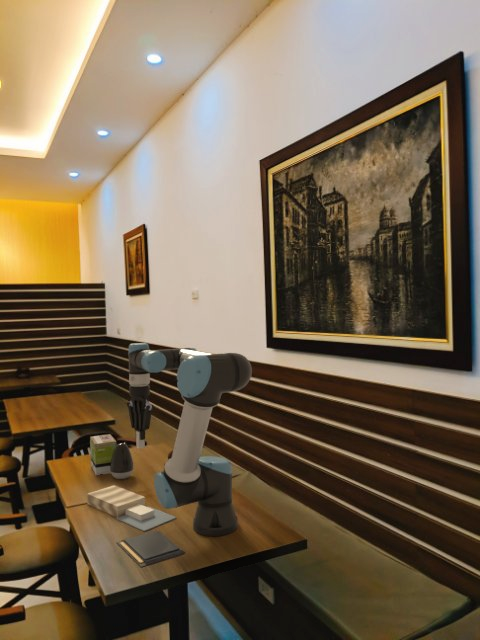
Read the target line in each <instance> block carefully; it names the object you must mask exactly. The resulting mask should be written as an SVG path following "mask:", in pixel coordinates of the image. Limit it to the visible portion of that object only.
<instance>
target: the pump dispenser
mask: <svg viewBox="0 0 480 640" xmlns="http://www.w3.org/2000/svg"><path fill="white" fill-rule="evenodd" d="M134 466H135V464H134V460H133V456H132V453H131V450H130V447H128V445H127V442H126V441H124V442H121V443H118V444H117V446H116V447H115V449H114V451H113V455H112V459H111V464H110V471H111V473H110V474H111V476H112V477H113V478H115V479H116V480H125V479H128V478H130V476H132V474H133V471H134V469H135V467H134Z"/></svg>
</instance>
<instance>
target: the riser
mask: <svg viewBox="0 0 480 640" xmlns="http://www.w3.org/2000/svg"><path fill="white" fill-rule="evenodd" d="M86 496H87V498H86V499H87V500H86V501H87V505H88V506H90V507H93V508H95V509H97V510H100V511H102V512H104V513H106V514H108V515H110V516H113V517H115V518H118V517H120V516H123V515H126V514H125V509H126V508H129V507H132V506H134V505H137V504H141V505H143V506H146V497H145V496H144V495H141V494H138V493H136V492H133V491H130V490H127V489H126V488H123V487H120V486H118V485H110V486H108V487H104V488H100V489H98V490H95V491H92V492H88V493H87V494H86Z"/></svg>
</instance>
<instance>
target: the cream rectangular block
mask: <svg viewBox="0 0 480 640" xmlns="http://www.w3.org/2000/svg"><path fill="white" fill-rule="evenodd" d="M125 514H126V515H128V516H131V517H133V518H135V519H137V520H140V521H142V520H144V519H147V518H150V517H152V516H154V510H153V509H151V508H148V507H147V506H146V505H145V506H143V505H141V504H137V505H134V506H132V507H129V508H126V509H125Z"/></svg>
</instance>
